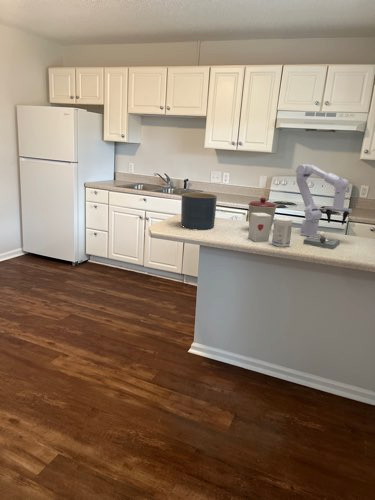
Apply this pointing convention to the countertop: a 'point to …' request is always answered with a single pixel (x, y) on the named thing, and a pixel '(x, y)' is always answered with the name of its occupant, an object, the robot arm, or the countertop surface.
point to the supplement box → (259, 227)
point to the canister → (262, 208)
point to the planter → (198, 210)
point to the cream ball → (321, 234)
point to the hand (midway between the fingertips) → (335, 223)
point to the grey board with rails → (316, 241)
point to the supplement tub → (282, 231)
